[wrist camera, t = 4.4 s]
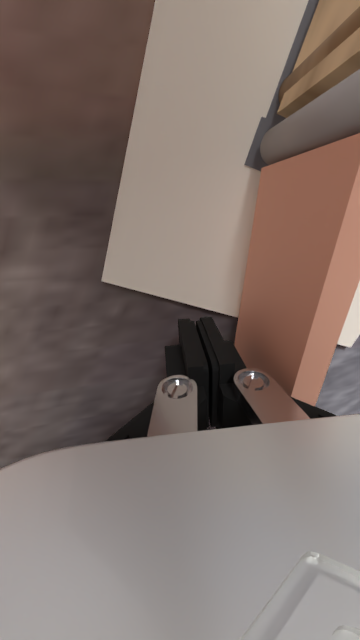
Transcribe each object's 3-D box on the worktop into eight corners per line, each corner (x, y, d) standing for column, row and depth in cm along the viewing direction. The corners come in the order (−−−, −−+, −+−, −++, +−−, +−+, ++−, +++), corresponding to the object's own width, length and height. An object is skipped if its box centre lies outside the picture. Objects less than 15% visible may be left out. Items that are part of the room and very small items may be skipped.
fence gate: (261, 124, 10) (384, 29, 5) (298, 127, 10) (459, 39, 5) (222, 389, 16) (257, 485, 10) (246, 388, 16) (293, 483, 11)
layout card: (264, -553, 6) (273, -622, 5) (656, -124, 9) (684, -141, 8) (102, 279, 13) (100, 281, 13) (346, 344, 16) (351, 348, 16)
